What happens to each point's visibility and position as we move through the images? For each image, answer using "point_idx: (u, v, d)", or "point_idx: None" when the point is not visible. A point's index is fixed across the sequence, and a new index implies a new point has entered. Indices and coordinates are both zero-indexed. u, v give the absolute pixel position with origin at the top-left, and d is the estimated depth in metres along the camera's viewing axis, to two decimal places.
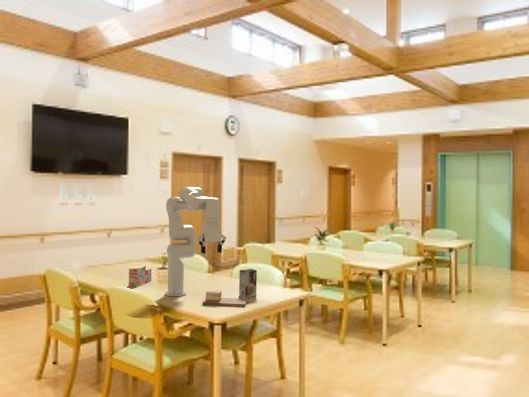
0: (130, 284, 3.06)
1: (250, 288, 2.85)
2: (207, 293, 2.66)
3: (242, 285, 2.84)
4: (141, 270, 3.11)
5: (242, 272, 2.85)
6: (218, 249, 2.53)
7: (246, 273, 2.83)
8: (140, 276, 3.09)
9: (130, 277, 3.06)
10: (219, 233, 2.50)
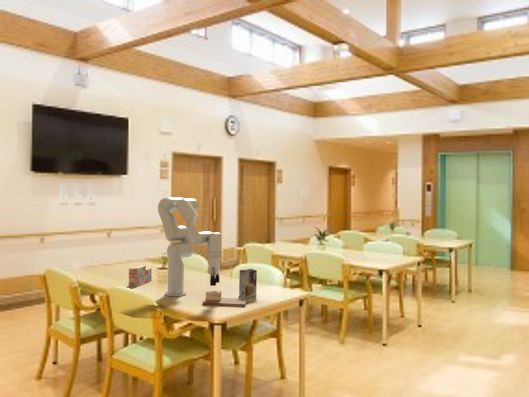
0: (130, 284, 3.07)
1: (250, 288, 2.85)
2: (207, 293, 2.66)
3: (242, 285, 2.84)
4: (141, 270, 3.11)
5: (242, 272, 2.85)
6: (215, 279, 2.73)
7: (246, 273, 2.83)
8: (140, 276, 3.09)
9: (130, 277, 3.06)
10: None
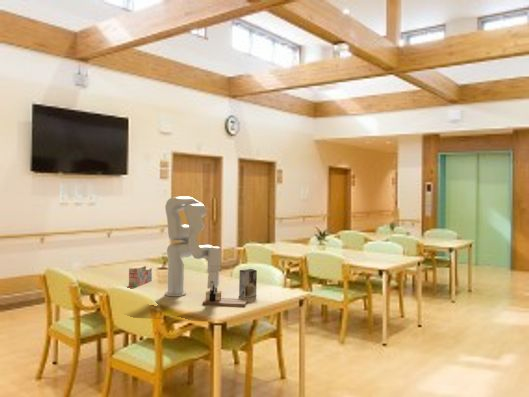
0: (130, 284, 3.07)
1: (250, 288, 2.85)
2: (207, 293, 2.66)
3: (242, 285, 2.84)
4: (141, 270, 3.11)
5: (242, 272, 2.85)
6: None
7: (246, 273, 2.83)
8: (140, 276, 3.10)
9: (130, 277, 3.07)
10: None
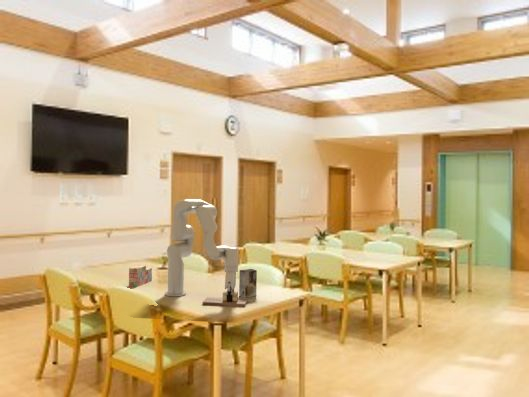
0: (130, 284, 3.07)
1: (250, 288, 2.85)
2: (224, 294, 2.66)
3: (242, 285, 2.84)
4: (141, 270, 3.11)
5: (242, 272, 2.85)
6: None
7: (246, 273, 2.83)
8: (140, 276, 3.10)
9: (130, 277, 3.07)
10: None
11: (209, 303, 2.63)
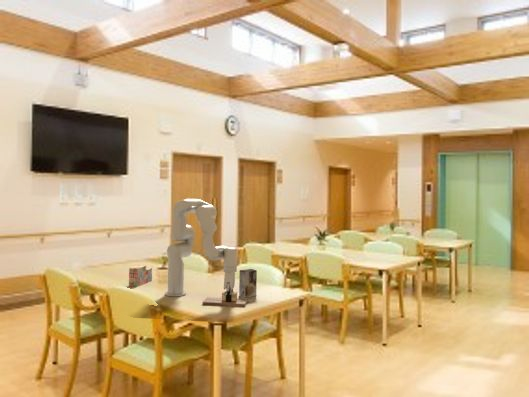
0: (130, 284, 3.07)
1: (250, 288, 2.85)
2: (223, 294, 2.66)
3: (242, 285, 2.84)
4: (141, 270, 3.12)
5: (242, 272, 2.85)
6: None
7: (246, 273, 2.83)
8: (140, 276, 3.10)
9: (131, 277, 3.07)
10: (234, 279, 2.71)
11: (209, 303, 2.63)
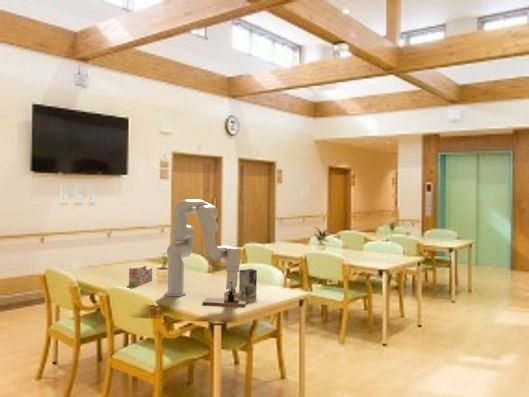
0: (130, 284, 3.08)
1: (250, 288, 2.85)
2: (225, 293, 2.65)
3: (242, 285, 2.84)
4: (141, 270, 3.12)
5: (242, 272, 2.85)
6: None
7: (246, 273, 2.83)
8: (140, 276, 3.11)
9: (131, 277, 3.08)
10: None
11: (209, 303, 2.63)
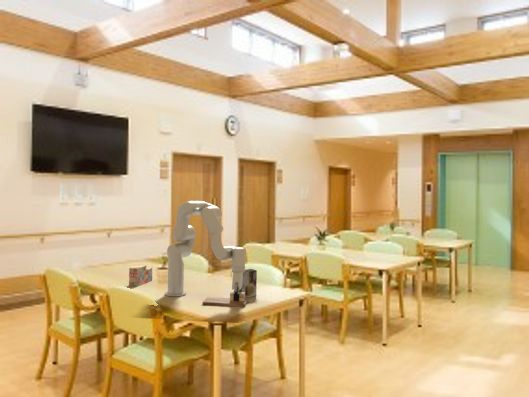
0: (130, 283, 3.08)
1: (250, 288, 2.85)
2: (231, 294, 2.65)
3: None
4: (141, 270, 3.12)
5: None
6: None
7: (246, 273, 2.83)
8: (140, 276, 3.11)
9: (131, 277, 3.08)
10: None
11: (209, 303, 2.63)
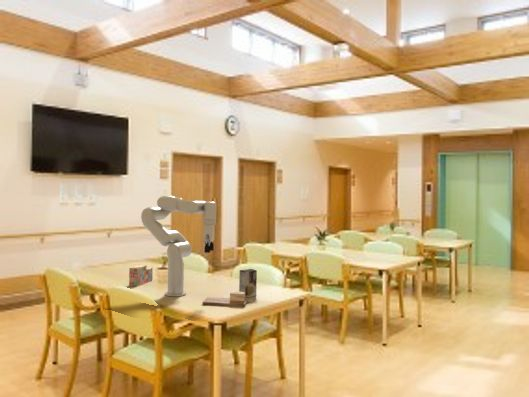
0: (130, 283, 3.09)
1: (250, 288, 2.85)
2: (231, 294, 2.65)
3: (242, 285, 2.84)
4: (141, 269, 3.13)
5: (242, 272, 2.85)
6: (210, 247, 2.81)
7: (246, 273, 2.83)
8: (140, 275, 3.11)
9: (131, 277, 3.08)
10: None
11: (209, 303, 2.63)
